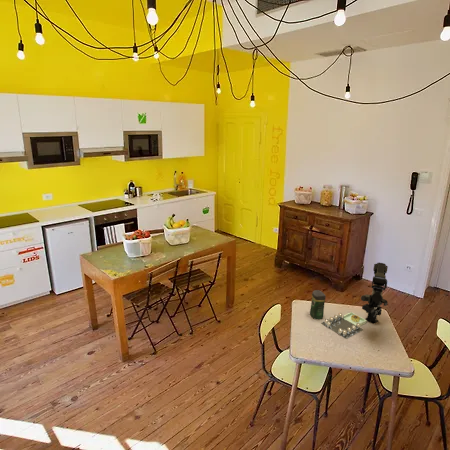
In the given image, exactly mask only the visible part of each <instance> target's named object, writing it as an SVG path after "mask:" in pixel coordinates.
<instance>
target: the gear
mask: <svg viewBox="0 0 450 450" xmlns="http://www.w3.org/2000/svg"><path fill="white" fill-rule="evenodd" d="M356 315H357V314H356ZM356 315H352V316H351V320H352V321H354V322H359V321H360V317H361V316H360V315H358V316H356ZM359 316H360V317H359Z"/></svg>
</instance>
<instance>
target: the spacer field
mask: <svg viewBox="0 0 450 450" xmlns="http://www.w3.org/2000/svg"><path fill="white" fill-rule="evenodd" d="M320 324H321V325H323V326H324V327H326V328H327V329H329V330H331V331H332V332H334V333H336V334H338V335H339V336H340V337H342V338H343V339H345V340H347V339H349V338H352V337H354V336H355V335H358V334H359V333H361V332H362V331H364V329H362V328H361V326H360V323H357V324H356V325H354V324H352V323H351V322H349V321H347V320H345V319H344V318H343V313H342V312H339V313H338V314H333V316H330V317H329V319H328V318H325V319H324V321H323V322H321V323H320Z"/></svg>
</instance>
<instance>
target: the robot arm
mask: <svg viewBox="0 0 450 450" xmlns="http://www.w3.org/2000/svg"><path fill="white" fill-rule="evenodd" d="M388 267H389V266H388V265H387V264H386V263H384V262H376V263H373V277H372V281H371V286H370V287H371V289H372V292H371V294H364V295H361V296H360V299H361V301H362V302H367V303H366V304H363V305H362V306H361V310H364V311H365V313H366V314H367V317H366V318H364V319H365V320H367V322H368V323H371V324H373V325H374V324H376V323H378V322H379V320H378V316H381V314H382V311H383V309H382V308H383V306H385V307H386V306H388V300H386V299H384V297H383V291H386V289H387V287H388V279H387V276H386V274H387V273H388ZM381 305H383V306H381Z"/></svg>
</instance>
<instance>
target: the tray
mask: <svg viewBox="0 0 450 450" xmlns="http://www.w3.org/2000/svg"><path fill="white" fill-rule="evenodd" d="M352 315H356V316H359V317H360V321H359V322H354V321H352V320H351V316H352ZM342 318H344V319H345V320H347V321H349V322H351V323H352V324H354V325H356V324H357V323H360V327H361V326H363V325H364V324H367V322H368V321H367V320H365V319H366V318H364V317H362V316H360V315H358V314H356V313H354V312H352V311H351V312H348V313H346V314H344V315H342Z"/></svg>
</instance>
